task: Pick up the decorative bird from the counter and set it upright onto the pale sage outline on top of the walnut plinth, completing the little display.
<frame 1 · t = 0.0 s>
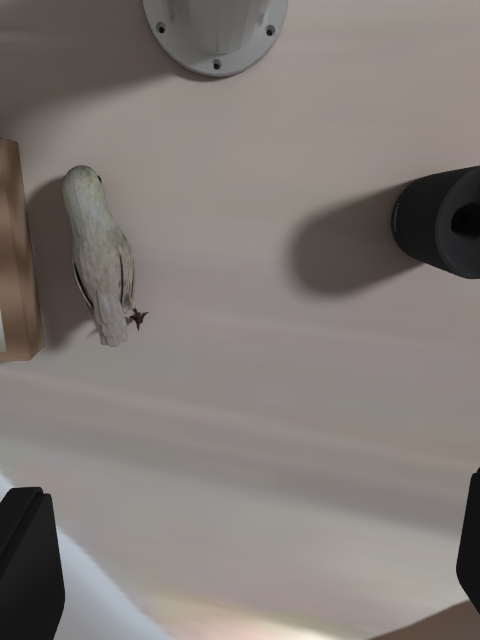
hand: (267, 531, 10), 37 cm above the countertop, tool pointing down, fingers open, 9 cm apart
pen holder: (429, 218, 45), on the countertop
decorative bird: (109, 250, 44), on the countertop
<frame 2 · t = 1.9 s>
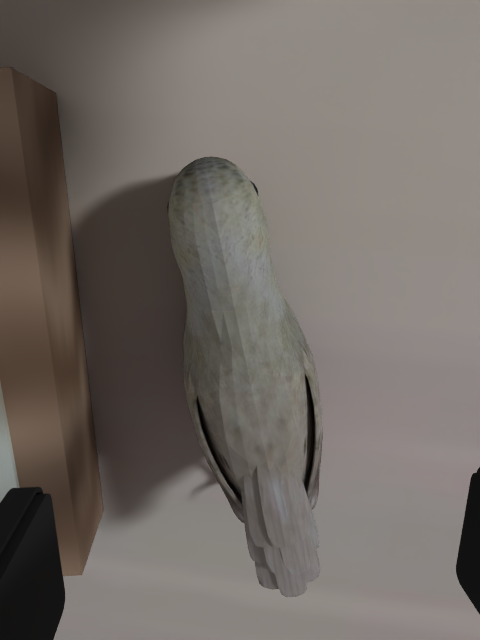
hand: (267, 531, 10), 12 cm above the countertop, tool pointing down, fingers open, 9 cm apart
decorative bird: (241, 334, 21), on the countertop
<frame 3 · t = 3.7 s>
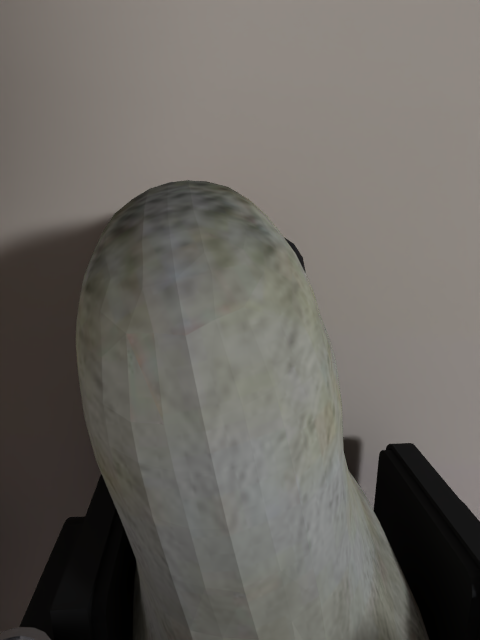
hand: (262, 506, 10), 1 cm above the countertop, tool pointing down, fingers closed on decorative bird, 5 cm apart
decorative bird: (254, 495, 12), on the countertop, touching gripper
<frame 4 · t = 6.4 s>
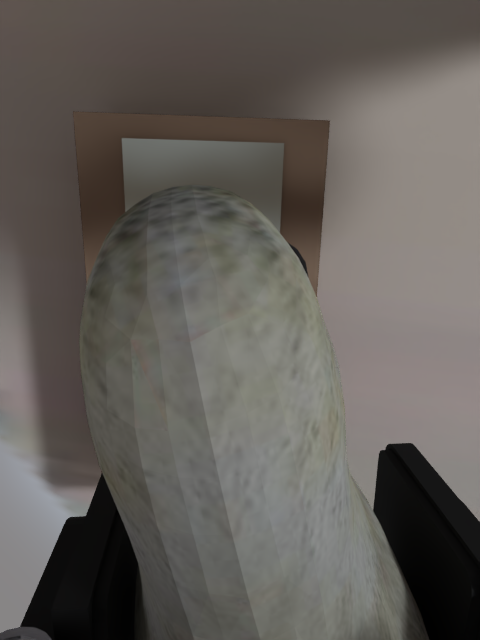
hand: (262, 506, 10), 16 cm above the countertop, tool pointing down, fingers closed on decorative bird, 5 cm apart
walnut plinth: (205, 314, 25), on the countertop
decorative bird: (255, 497, 12), point 15 cm above the countertop, touching gripper
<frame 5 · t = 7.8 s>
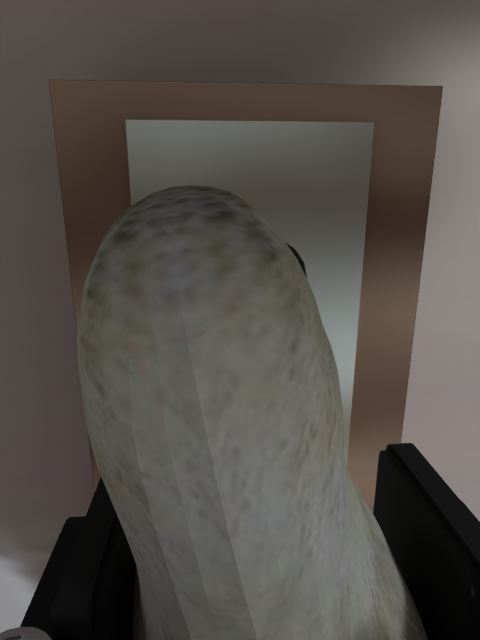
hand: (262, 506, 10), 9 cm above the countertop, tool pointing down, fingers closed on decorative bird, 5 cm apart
walnut plinth: (241, 363, 19), on the countertop
decorative bird: (254, 498, 12), point 8 cm above the countertop, touching gripper
when the fingers open (6 cm above the countertop, at t = 9.1 s): decorative bird drops 1 cm, resting on walnut plinth.
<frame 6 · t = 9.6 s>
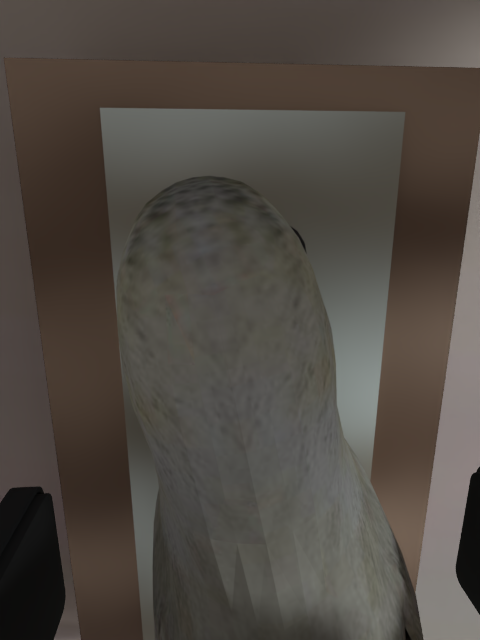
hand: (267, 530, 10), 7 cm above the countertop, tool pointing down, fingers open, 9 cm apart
walnut plinth: (241, 391, 16), on the countertop
decorative bird: (256, 464, 13), point 4 cm above the countertop, touching walnut plinth
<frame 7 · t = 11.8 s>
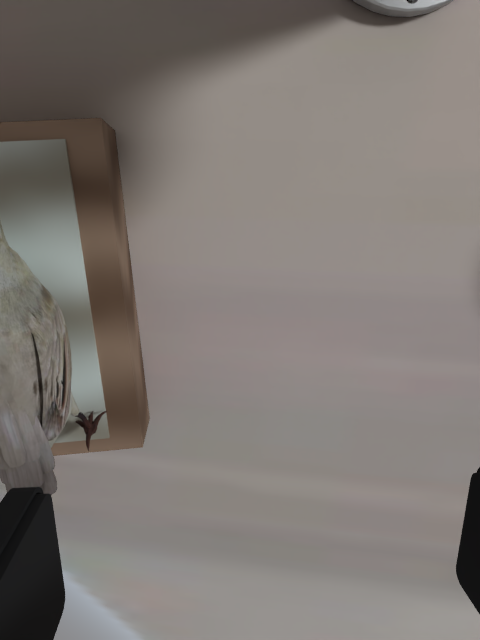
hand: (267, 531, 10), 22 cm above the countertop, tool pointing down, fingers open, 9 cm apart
walnut plinth: (51, 292, 29), on the countertop
decorative bird: (32, 314, 26), point 4 cm above the countertop, touching walnut plinth
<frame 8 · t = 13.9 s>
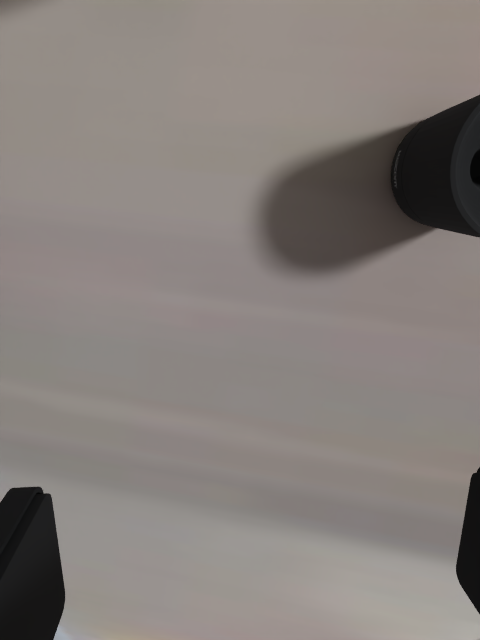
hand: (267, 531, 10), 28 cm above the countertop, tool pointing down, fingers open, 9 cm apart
pen holder: (438, 172, 36), on the countertop
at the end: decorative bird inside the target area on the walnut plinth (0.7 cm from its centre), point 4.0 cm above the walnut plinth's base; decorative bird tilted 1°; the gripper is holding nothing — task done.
